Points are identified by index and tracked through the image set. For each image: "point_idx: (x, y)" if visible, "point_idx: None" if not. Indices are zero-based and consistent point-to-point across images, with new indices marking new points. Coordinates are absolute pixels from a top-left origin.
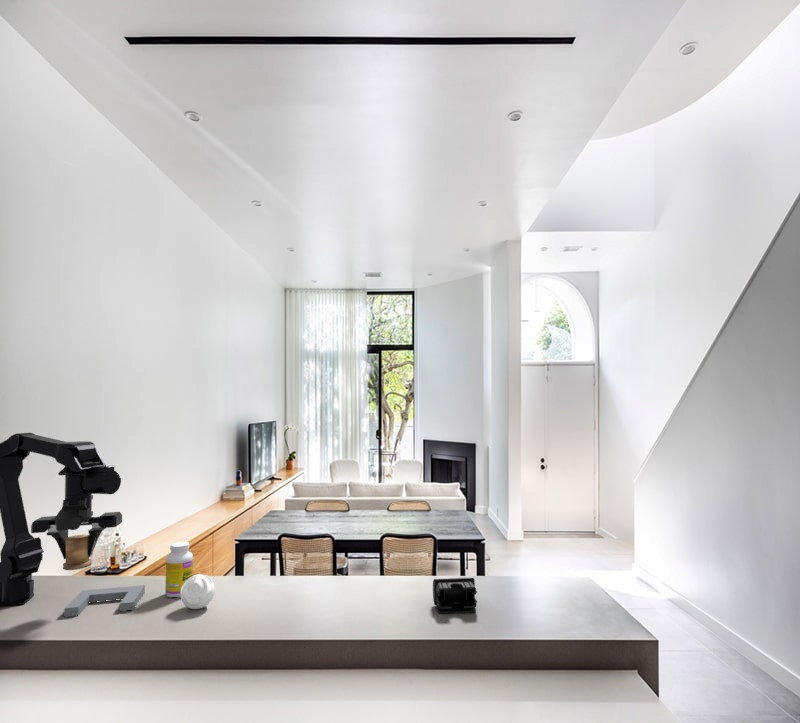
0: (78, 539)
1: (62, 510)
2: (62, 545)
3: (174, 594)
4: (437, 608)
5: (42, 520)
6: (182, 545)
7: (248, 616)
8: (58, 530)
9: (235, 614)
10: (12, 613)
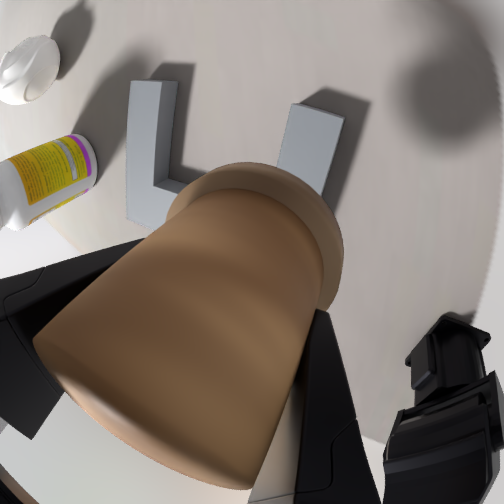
0: (58, 342)
1: None
2: (317, 417)
3: (75, 135)
4: None
5: None
6: None
7: (22, 19)
8: None
9: (28, 27)
10: (478, 264)
